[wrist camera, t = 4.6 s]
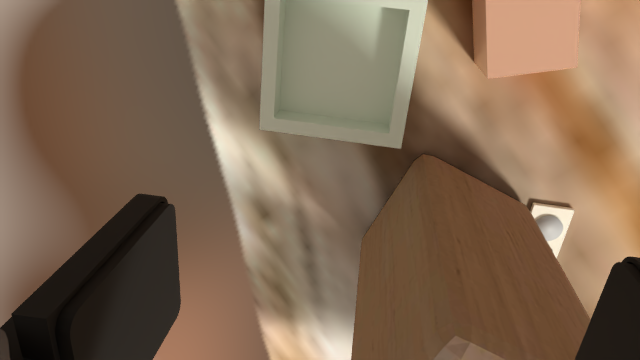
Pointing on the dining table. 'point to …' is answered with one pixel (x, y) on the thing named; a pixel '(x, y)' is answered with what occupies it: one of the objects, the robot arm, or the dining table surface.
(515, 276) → the wooden block
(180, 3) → the dining table surface
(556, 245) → the cream switch plate
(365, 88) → the tray
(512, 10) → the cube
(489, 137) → the dining table surface
